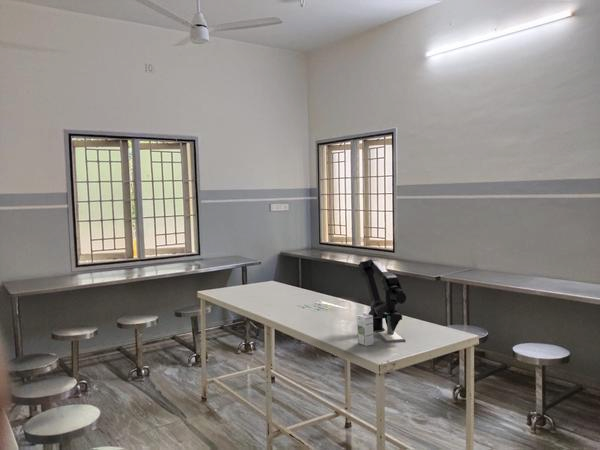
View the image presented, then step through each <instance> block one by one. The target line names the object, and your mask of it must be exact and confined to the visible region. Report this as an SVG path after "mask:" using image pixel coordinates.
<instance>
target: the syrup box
mask: <svg viewBox="0 0 600 450" xmlns="http://www.w3.org/2000/svg"><path fill="white" fill-rule="evenodd" d="M368 314H369V313H361V314H358V315H357V317H356V319H357V324H356V325H357V344H358V345H362V346H364V347H367V346H370V345H371V346H372V345H374V331H373V316H372V315H368Z"/></svg>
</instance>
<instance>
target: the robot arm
mask: <svg viewBox="0 0 600 450" xmlns="http://www.w3.org/2000/svg"><path fill="white" fill-rule="evenodd" d="M357 267H358V269H359V270H358V271H359V272H360V274H361V275H362V276H363V278H364V279H365V282H366V286H367V290H368V293H369V297H370V300H371V304H370V306H369V308H370V310H369V312H368V313H367V314H368V315H372V316H373V332H377V331H378V332H382V331H386V330H385V328H384V326H383V325H384V321H383V320H385V324H386V326H387V316H388V318H389V319H388V320H389V321H390V322H391V329H392V331H395V330H396V328H397V326H398V324H399V322H401V321H402V320H403V315H402V314H401V313H400V312H398V309H397V305H398V304H400V305H401V304H404V303H405V302H406V300H407V295H406V294H405V293H404V290H402V285H401V283H400V281H399V279H398V276H397V275H396V274H395V273H392V272H390V271H388V270H387V268H385V267H384V266H383V264H382V263H380V261H379V259H377V258H371V259H370V258H369V259H368V260H362V261H360V262H359V263H358V266H357ZM375 273H376V274H377V275H378V276H379V277H380V279H381V283H382V285H383V288H382V290H383V291H384V300H382V299H381V296H380V293H379V289H378V286H377V282H376V278H375Z"/></svg>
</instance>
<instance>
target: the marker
mask: <svg viewBox="0 0 600 450" xmlns="http://www.w3.org/2000/svg"><path fill="white" fill-rule="evenodd" d="M388 319H389V318H388V316H387V325H386V328H387V329H386V332H387V334H390V335H392V334H394V331H392V329H391V322H390V321H389V320H388Z"/></svg>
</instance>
